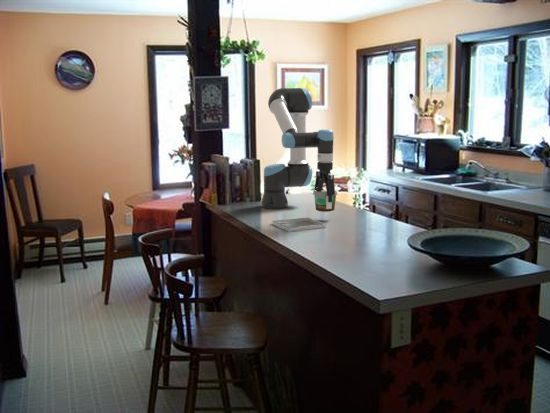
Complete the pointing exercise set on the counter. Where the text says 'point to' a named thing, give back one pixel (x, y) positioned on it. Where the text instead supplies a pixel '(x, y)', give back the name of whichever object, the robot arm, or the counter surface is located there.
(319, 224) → the grey square frame
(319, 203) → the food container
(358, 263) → the counter surface
